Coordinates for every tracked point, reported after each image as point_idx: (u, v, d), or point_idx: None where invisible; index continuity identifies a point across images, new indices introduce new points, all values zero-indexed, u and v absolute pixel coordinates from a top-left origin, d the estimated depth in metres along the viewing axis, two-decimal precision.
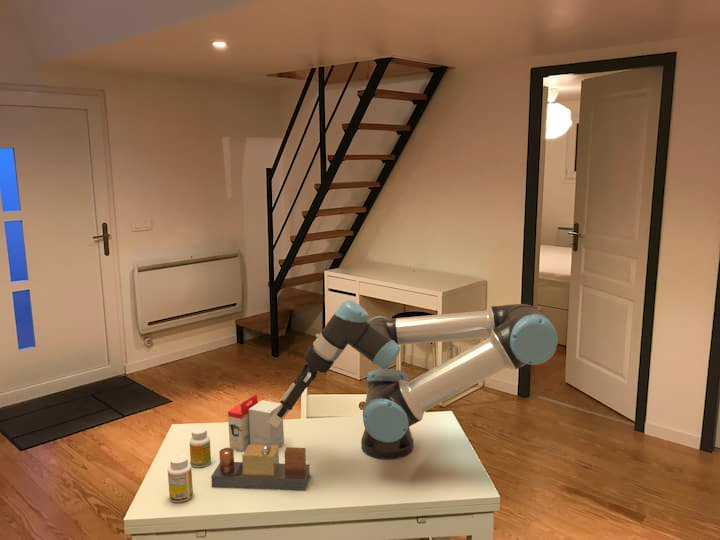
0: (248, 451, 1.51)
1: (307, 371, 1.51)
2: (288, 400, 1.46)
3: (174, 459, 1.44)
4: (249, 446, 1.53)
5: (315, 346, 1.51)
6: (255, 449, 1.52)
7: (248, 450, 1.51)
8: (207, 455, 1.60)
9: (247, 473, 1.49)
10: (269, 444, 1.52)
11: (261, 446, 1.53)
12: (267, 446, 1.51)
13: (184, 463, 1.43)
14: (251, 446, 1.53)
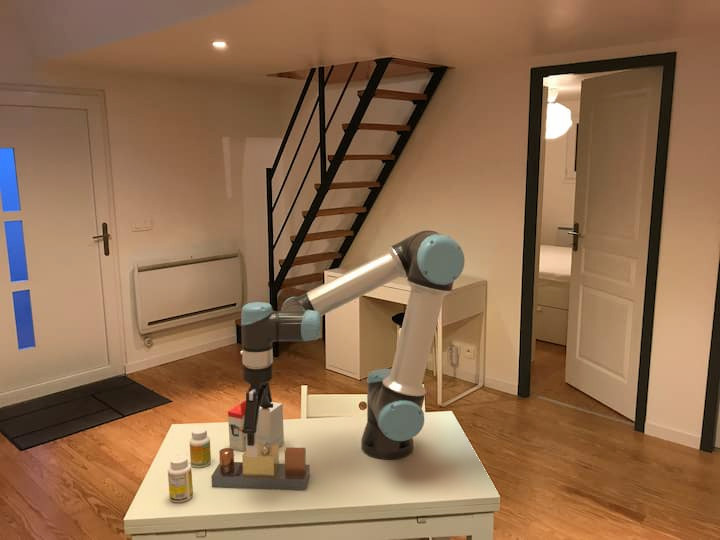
0: None
1: (251, 389, 1.44)
2: (245, 425, 1.40)
3: (174, 459, 1.43)
4: None
5: (243, 363, 1.45)
6: None
7: None
8: (207, 455, 1.60)
9: (247, 473, 1.49)
10: (269, 444, 1.52)
11: (261, 446, 1.53)
12: (267, 446, 1.51)
13: (184, 463, 1.43)
14: None
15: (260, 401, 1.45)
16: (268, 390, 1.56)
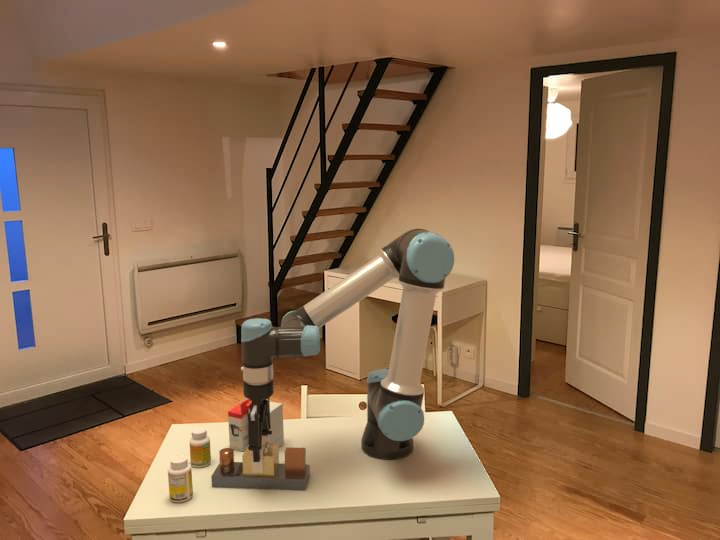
0: (248, 451, 1.51)
1: (252, 405, 1.45)
2: (251, 444, 1.44)
3: (174, 459, 1.44)
4: None
5: (244, 379, 1.46)
6: None
7: (248, 450, 1.51)
8: (207, 454, 1.60)
9: (247, 473, 1.49)
10: (269, 444, 1.52)
11: None
12: (267, 446, 1.51)
13: (184, 463, 1.43)
14: None
15: (262, 418, 1.47)
16: (268, 412, 1.55)
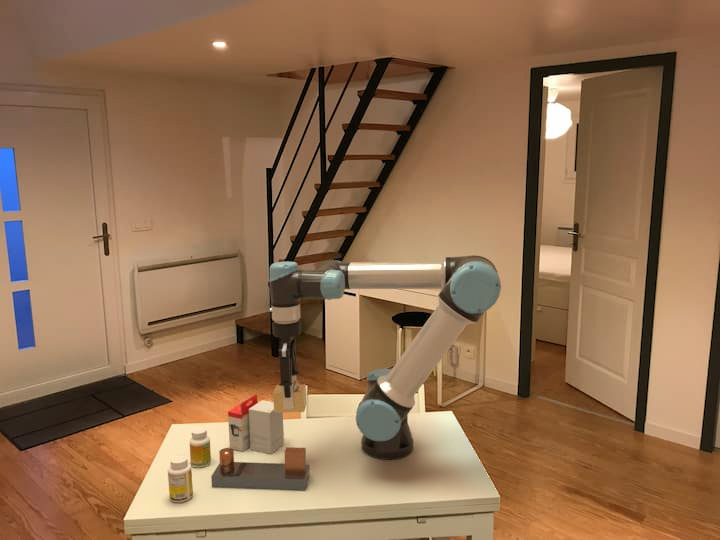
0: (277, 389, 1.58)
1: (282, 343, 1.53)
2: (282, 379, 1.52)
3: (174, 459, 1.44)
4: (278, 386, 1.61)
5: (274, 319, 1.53)
6: None
7: (277, 389, 1.58)
8: (207, 454, 1.60)
9: (278, 410, 1.57)
10: (297, 382, 1.60)
11: None
12: (296, 384, 1.58)
13: (184, 463, 1.43)
14: (280, 386, 1.61)
15: (292, 356, 1.55)
16: (294, 353, 1.63)
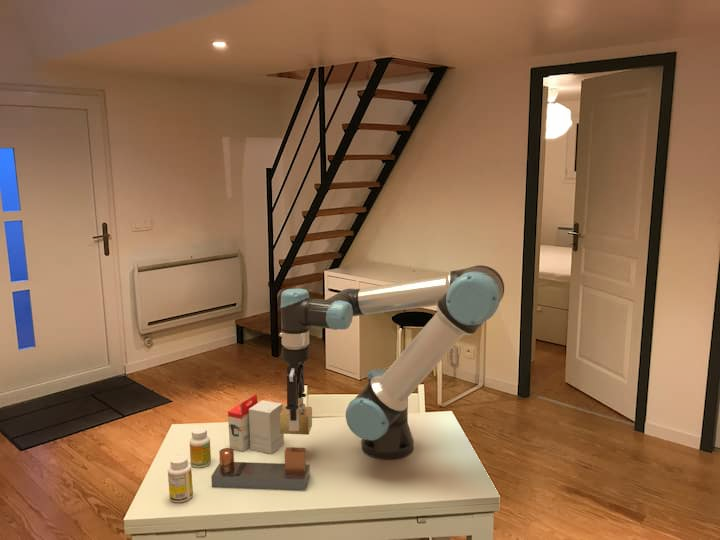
0: (284, 411, 1.63)
1: (290, 368, 1.58)
2: (289, 403, 1.56)
3: (174, 459, 1.44)
4: (285, 407, 1.66)
5: (283, 344, 1.58)
6: None
7: (284, 411, 1.64)
8: (207, 454, 1.60)
9: (284, 431, 1.62)
10: (304, 405, 1.65)
11: None
12: (302, 407, 1.63)
13: (184, 463, 1.43)
14: None
15: (299, 380, 1.59)
16: (302, 376, 1.67)
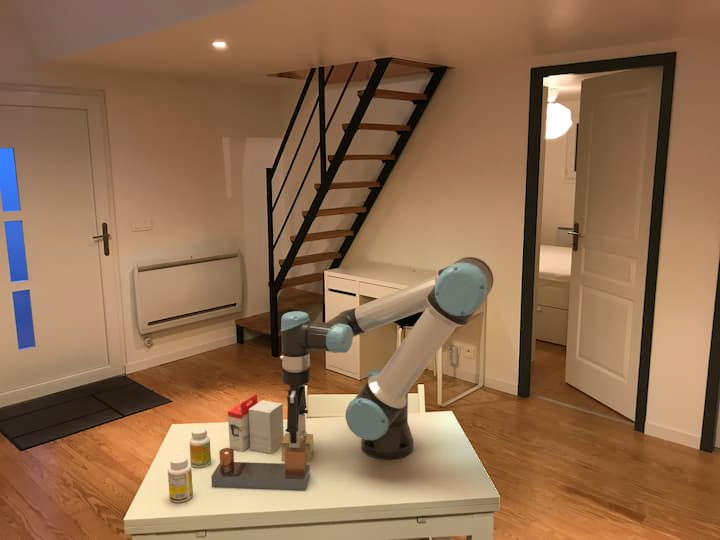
0: (286, 439, 1.65)
1: (291, 391, 1.59)
2: (289, 426, 1.56)
3: (174, 459, 1.44)
4: (286, 434, 1.67)
5: (284, 367, 1.59)
6: None
7: (286, 438, 1.65)
8: (207, 454, 1.60)
9: None
10: (305, 432, 1.66)
11: None
12: (303, 434, 1.64)
13: (184, 463, 1.43)
14: (288, 434, 1.67)
15: (300, 402, 1.60)
16: None
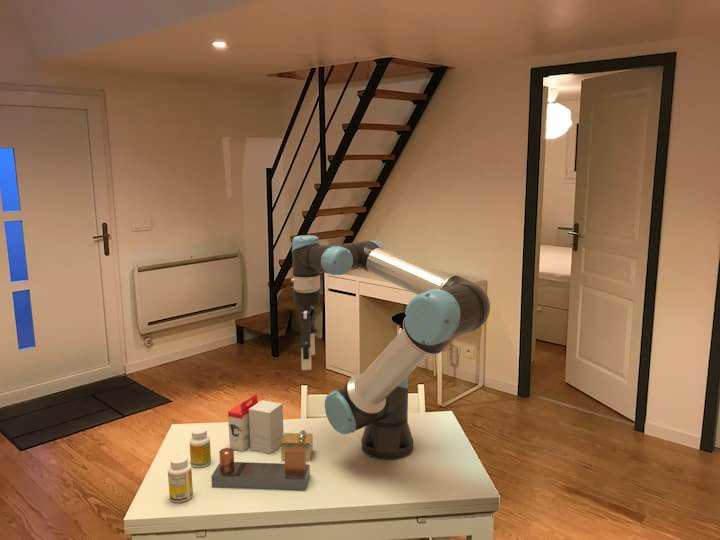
0: (285, 438, 1.65)
1: (303, 311, 1.64)
2: (302, 340, 1.60)
3: (174, 459, 1.44)
4: (285, 434, 1.67)
5: (295, 288, 1.65)
6: (292, 437, 1.66)
7: (285, 438, 1.65)
8: (207, 454, 1.60)
9: None
10: (304, 432, 1.66)
11: (297, 434, 1.67)
12: (303, 434, 1.65)
13: (184, 463, 1.43)
14: (287, 434, 1.67)
15: (311, 321, 1.65)
16: None
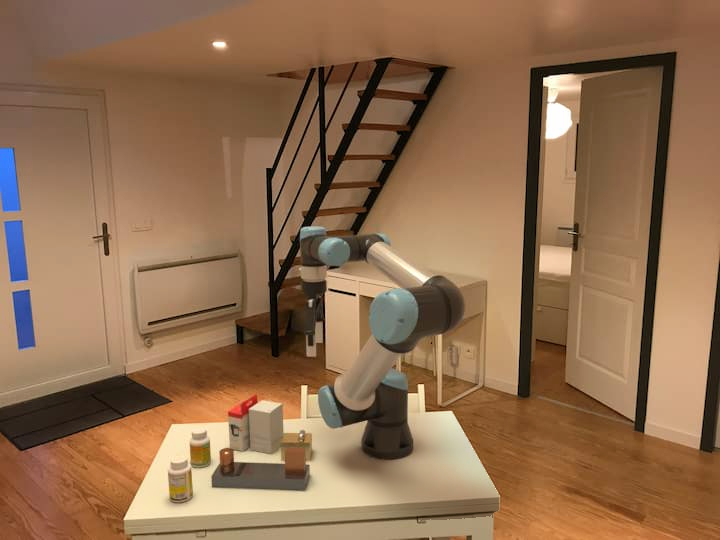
0: (285, 438, 1.65)
1: (309, 299, 1.69)
2: (307, 328, 1.65)
3: (174, 459, 1.44)
4: (285, 434, 1.67)
5: (302, 277, 1.70)
6: (291, 436, 1.66)
7: (285, 438, 1.65)
8: (207, 454, 1.60)
9: None
10: (304, 432, 1.66)
11: (296, 434, 1.68)
12: (303, 433, 1.65)
13: (184, 463, 1.43)
14: (287, 434, 1.67)
15: (317, 309, 1.70)
16: None
